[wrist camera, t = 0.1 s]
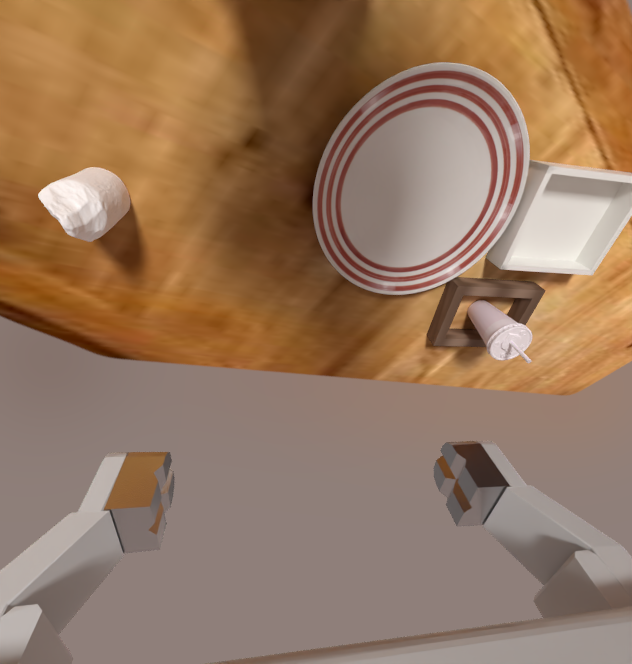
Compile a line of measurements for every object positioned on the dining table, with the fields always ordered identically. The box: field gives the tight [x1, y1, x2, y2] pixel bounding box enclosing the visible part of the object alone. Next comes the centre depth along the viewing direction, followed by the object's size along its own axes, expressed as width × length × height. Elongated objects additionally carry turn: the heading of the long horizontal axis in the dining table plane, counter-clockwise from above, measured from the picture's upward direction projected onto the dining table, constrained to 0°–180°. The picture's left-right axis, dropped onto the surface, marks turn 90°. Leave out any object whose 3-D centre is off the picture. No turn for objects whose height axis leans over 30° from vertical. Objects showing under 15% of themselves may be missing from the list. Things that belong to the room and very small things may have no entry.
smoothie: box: [467, 300, 532, 363], centre depth 52 cm, size 6×6×14 cm
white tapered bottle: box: [38, 167, 130, 242], centre depth 35 cm, size 6×12×6 cm
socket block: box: [427, 277, 545, 347], centre depth 56 cm, size 15×11×3 cm
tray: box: [486, 160, 632, 275], centre depth 47 cm, size 16×14×4 cm
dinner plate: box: [313, 62, 530, 295], centre depth 43 cm, size 28×27×3 cm
